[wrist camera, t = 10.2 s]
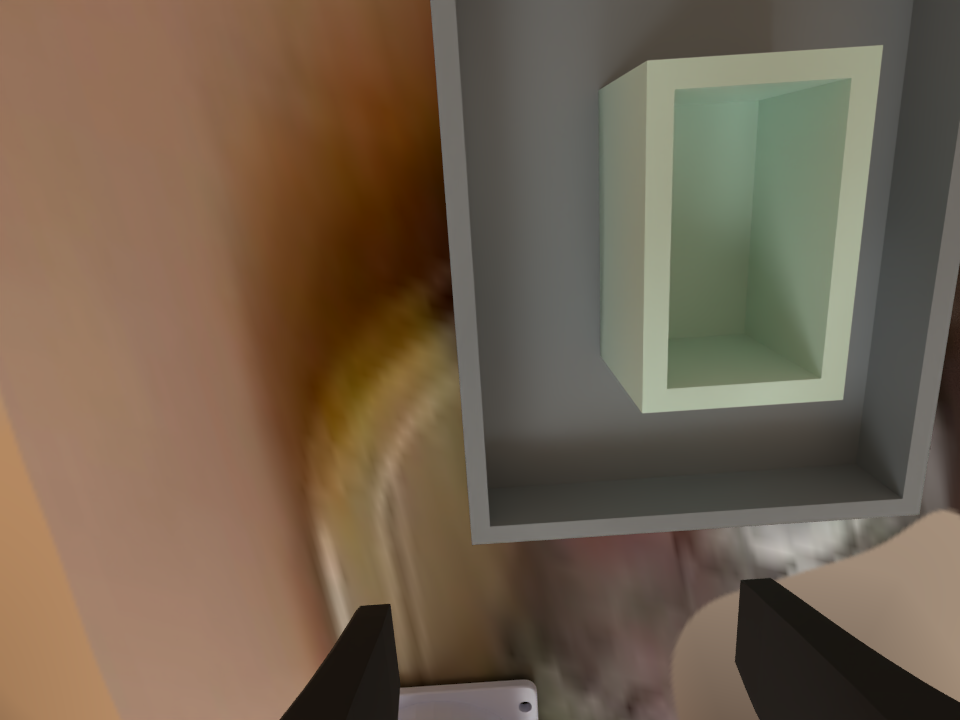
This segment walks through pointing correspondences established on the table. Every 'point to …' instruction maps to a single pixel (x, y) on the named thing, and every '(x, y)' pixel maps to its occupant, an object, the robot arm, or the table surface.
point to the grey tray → (576, 274)
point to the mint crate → (734, 225)
